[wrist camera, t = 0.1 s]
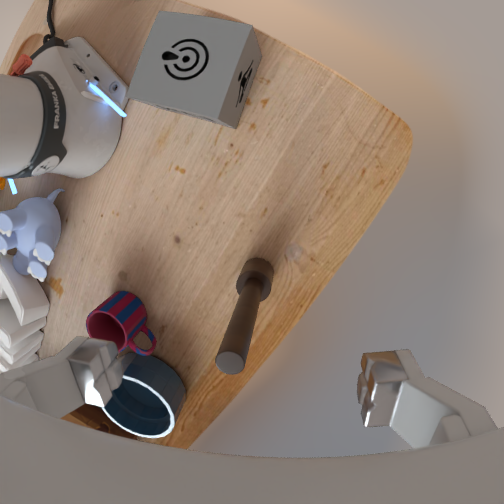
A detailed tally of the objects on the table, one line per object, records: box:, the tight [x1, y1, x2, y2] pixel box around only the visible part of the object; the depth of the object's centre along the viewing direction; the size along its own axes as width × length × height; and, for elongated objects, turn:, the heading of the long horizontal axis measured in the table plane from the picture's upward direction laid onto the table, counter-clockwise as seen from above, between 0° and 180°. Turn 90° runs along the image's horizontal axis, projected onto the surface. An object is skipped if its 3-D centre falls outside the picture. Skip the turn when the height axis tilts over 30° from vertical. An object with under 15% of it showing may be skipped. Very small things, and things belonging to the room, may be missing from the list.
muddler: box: [215, 258, 274, 374], centre depth 32 cm, size 4×4×20 cm
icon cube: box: [126, 11, 262, 129], centre depth 31 cm, size 10×10×10 cm
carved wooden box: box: [60, 403, 138, 440], centre depth 53 cm, size 23×19×6 cm
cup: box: [86, 291, 157, 356], centre depth 43 cm, size 7×10×7 cm
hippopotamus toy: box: [0, 189, 65, 282], centre depth 41 cm, size 11×15×10 cm
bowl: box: [101, 353, 186, 438], centre depth 46 cm, size 13×13×7 cm
